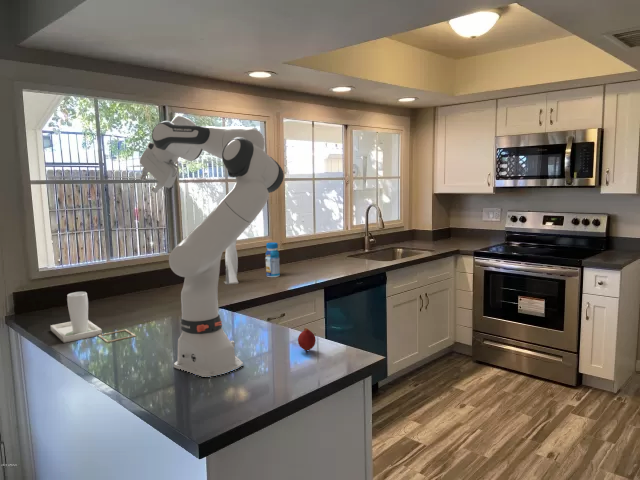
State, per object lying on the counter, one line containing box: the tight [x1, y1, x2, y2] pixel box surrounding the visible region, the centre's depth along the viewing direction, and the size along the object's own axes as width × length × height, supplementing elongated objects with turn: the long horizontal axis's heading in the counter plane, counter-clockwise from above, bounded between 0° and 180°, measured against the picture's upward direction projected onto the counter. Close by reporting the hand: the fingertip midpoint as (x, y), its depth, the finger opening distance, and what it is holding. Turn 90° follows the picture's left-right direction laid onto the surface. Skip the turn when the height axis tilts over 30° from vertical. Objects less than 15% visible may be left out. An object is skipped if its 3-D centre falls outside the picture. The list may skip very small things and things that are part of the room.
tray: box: [50, 319, 103, 344], centre depth 181 cm, size 20×13×2 cm, turn 41°
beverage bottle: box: [264, 242, 281, 278], centre depth 282 cm, size 8×8×20 cm
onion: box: [297, 327, 317, 351], centre depth 156 cm, size 6×6×8 cm
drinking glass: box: [66, 291, 89, 334], centre depth 177 cm, size 7×7×15 cm
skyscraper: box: [223, 238, 240, 285], centre depth 265 cm, size 8×8×28 cm
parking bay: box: [98, 328, 137, 344], centre depth 175 cm, size 10×10×1 cm
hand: (148, 185), depth 180 cm, fingers open, 8 cm apart
